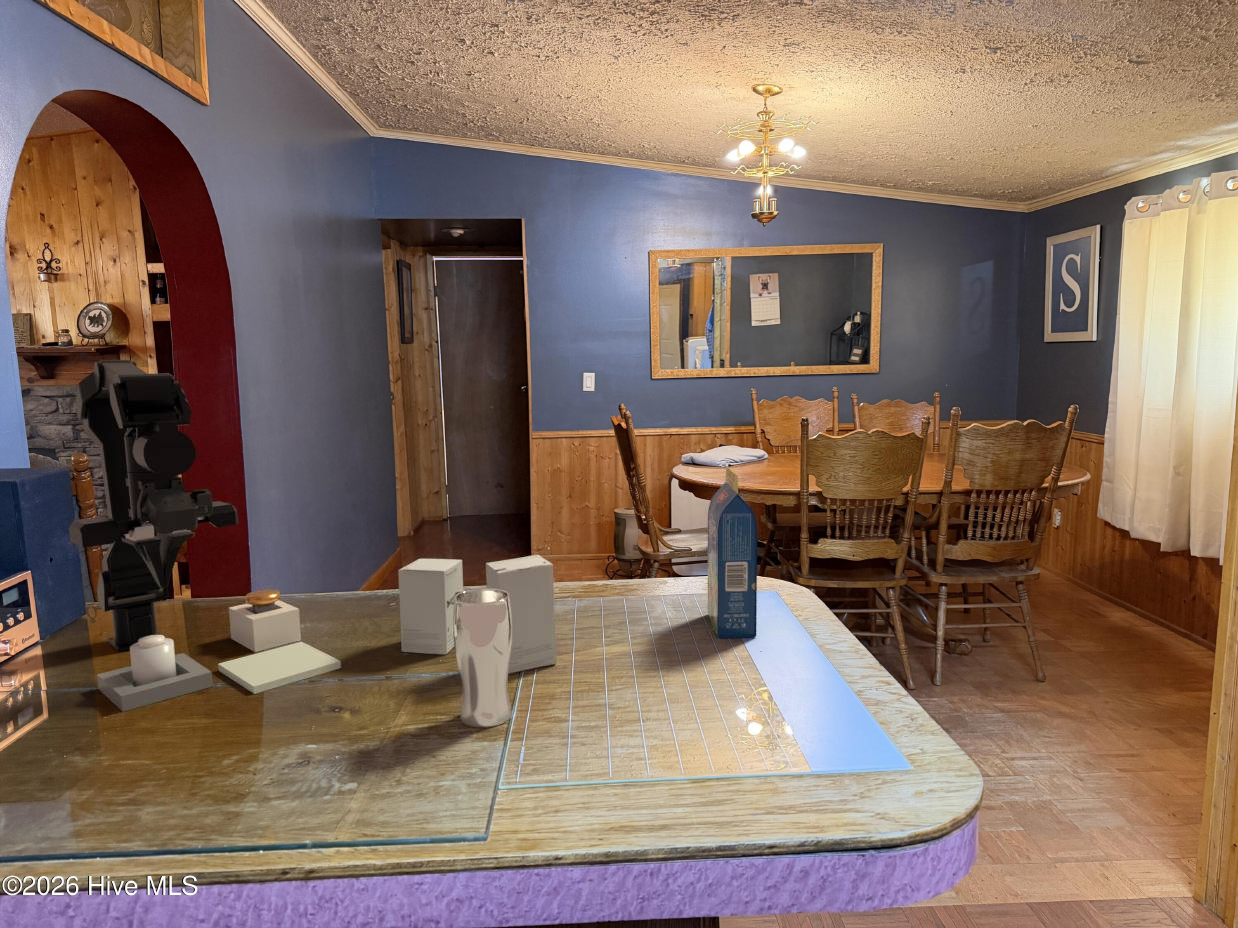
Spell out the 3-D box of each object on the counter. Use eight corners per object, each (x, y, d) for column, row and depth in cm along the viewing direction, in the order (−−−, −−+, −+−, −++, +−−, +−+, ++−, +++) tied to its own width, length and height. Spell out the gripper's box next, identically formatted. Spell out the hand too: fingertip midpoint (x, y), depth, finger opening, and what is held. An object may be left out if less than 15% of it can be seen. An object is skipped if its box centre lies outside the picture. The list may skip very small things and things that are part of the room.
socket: (98, 688, 108) (97, 674, 107) (184, 666, 115) (183, 652, 115) (122, 711, 100) (121, 696, 100) (212, 686, 108) (211, 671, 108)
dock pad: (218, 670, 113) (218, 663, 113) (301, 647, 122) (301, 641, 122) (254, 693, 105) (253, 686, 105) (340, 667, 114) (340, 660, 114)
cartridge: (128, 688, 108) (124, 639, 107) (169, 677, 111) (165, 629, 110) (140, 698, 104) (136, 647, 103) (182, 687, 108) (178, 637, 107)
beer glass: (460, 705, 101) (455, 588, 99) (516, 703, 101) (513, 586, 99) (453, 731, 94) (448, 605, 92) (514, 728, 94) (510, 603, 92)
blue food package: (744, 613, 136) (745, 465, 133) (757, 637, 124) (758, 475, 121) (706, 614, 136) (706, 466, 133) (716, 638, 124) (716, 476, 121)
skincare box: (543, 652, 119) (540, 553, 117) (558, 665, 114) (556, 562, 112) (487, 662, 115) (484, 560, 113) (500, 676, 110) (497, 569, 108)
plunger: (243, 628, 126) (240, 594, 125) (273, 621, 129) (271, 587, 129) (255, 635, 123) (253, 600, 122) (287, 627, 126) (284, 593, 125)
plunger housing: (231, 638, 127) (228, 607, 126) (275, 627, 132) (273, 597, 131) (255, 652, 120) (252, 619, 120) (301, 640, 126) (298, 608, 125)
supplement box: (447, 655, 118) (443, 570, 117) (400, 652, 120) (396, 568, 118) (466, 638, 125) (463, 558, 124) (422, 635, 127) (418, 556, 125)
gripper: (90, 483, 94) (103, 614, 96) (251, 466, 108) (260, 581, 110) (62, 476, 101) (74, 598, 103) (216, 461, 115) (225, 569, 117)
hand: (163, 586), depth 108 cm, fingers closed
